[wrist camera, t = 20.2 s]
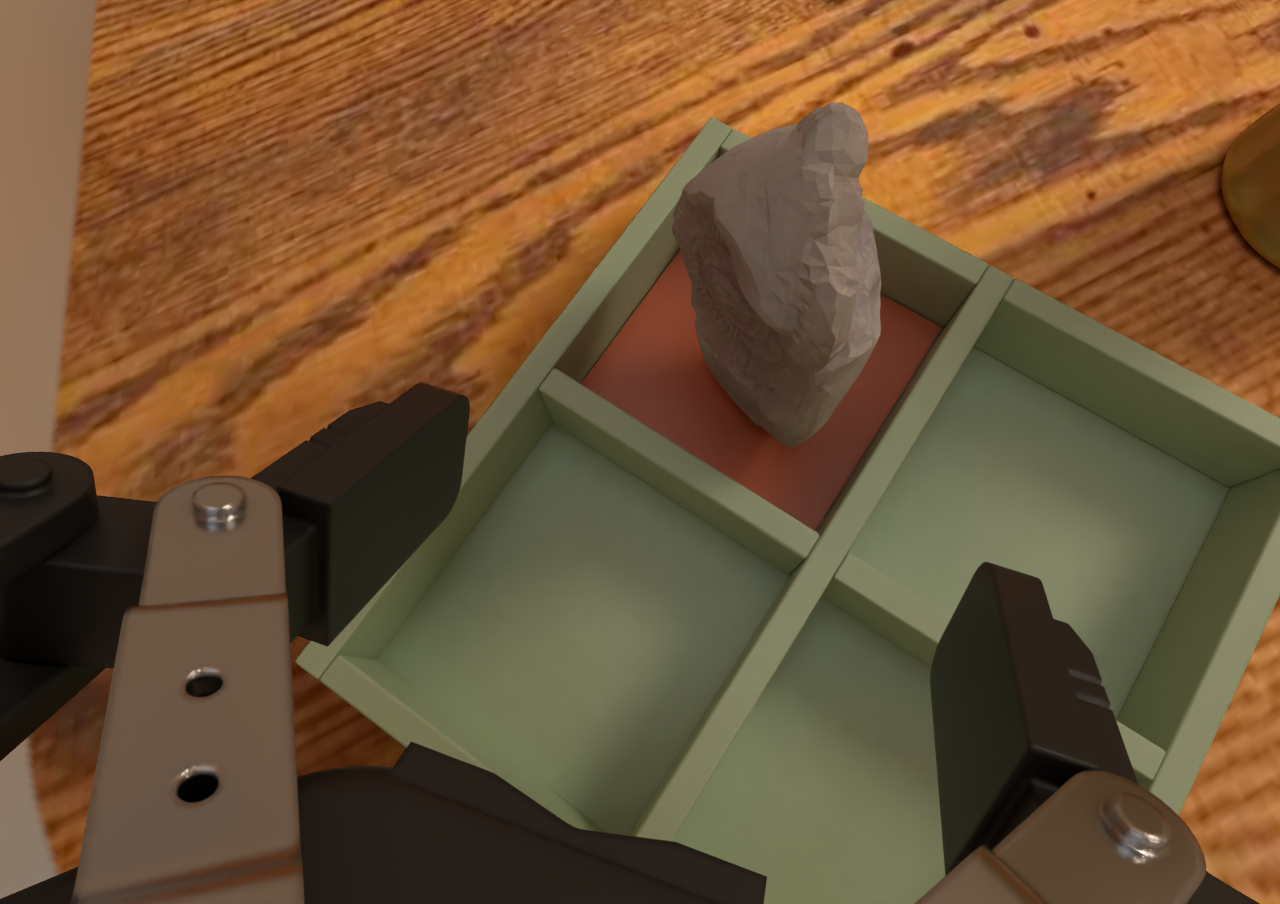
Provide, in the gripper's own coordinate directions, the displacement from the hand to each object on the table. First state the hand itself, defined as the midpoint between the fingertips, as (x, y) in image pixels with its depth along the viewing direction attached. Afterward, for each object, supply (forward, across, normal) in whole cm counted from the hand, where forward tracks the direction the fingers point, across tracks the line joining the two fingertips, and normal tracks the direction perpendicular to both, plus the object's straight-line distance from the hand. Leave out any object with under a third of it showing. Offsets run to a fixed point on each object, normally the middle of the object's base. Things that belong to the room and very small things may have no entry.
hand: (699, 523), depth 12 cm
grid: (+8, -3, +5) cm, 10 cm away
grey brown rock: (+10, 0, +2) cm, 11 cm away
